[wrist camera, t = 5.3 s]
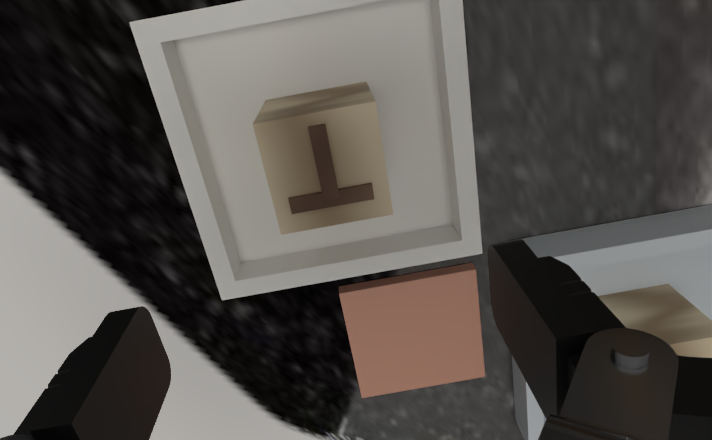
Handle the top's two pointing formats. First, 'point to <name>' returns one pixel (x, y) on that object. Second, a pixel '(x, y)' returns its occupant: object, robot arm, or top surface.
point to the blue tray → (627, 271)
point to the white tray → (306, 74)
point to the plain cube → (664, 318)
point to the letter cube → (323, 157)
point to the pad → (414, 329)
